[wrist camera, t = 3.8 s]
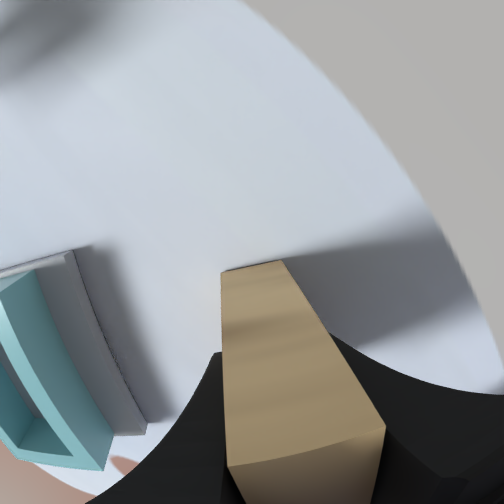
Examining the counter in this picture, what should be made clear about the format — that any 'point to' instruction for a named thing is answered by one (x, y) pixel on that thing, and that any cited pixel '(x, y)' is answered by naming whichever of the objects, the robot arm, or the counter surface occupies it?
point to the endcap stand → (58, 370)
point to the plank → (291, 398)
